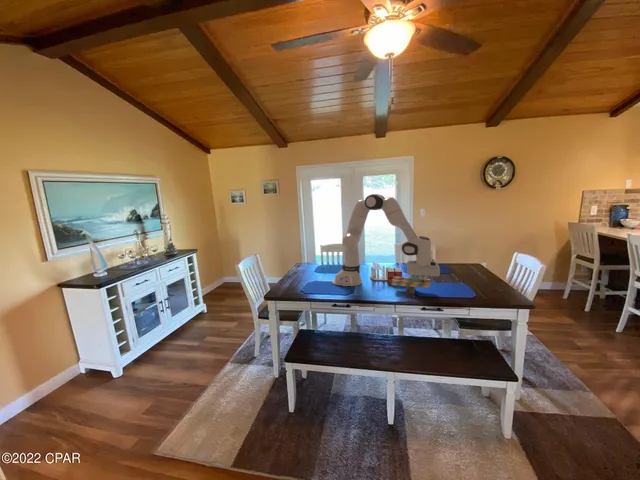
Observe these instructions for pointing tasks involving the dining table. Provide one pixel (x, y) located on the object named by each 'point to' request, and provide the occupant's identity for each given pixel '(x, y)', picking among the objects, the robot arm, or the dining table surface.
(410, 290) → the beam
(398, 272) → the puzzle cube
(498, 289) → the dining table surface
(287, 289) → the dining table surface
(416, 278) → the rider
